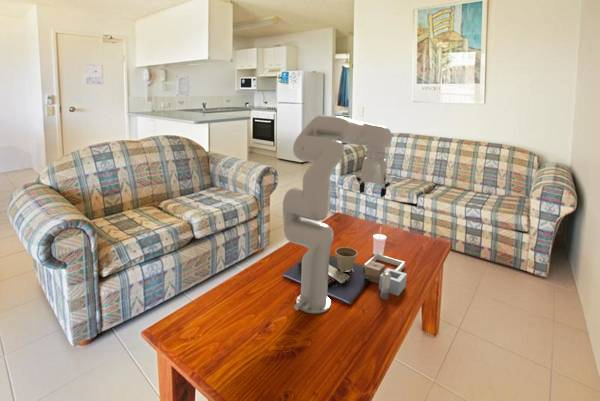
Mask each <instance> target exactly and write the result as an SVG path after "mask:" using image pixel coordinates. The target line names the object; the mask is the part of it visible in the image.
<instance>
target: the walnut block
mask: <svg viewBox="0 0 600 401" xmlns="http://www.w3.org/2000/svg"><path fill="white" fill-rule="evenodd" d="M385 266H386V264H383V263H380V262H376V261H375V262H374V261H371V262H370V263H368V264H367V265H366V266H365V269H364V276H365V277H368V278H369V279H370V281H369V282H373V283H375V284H379V280H380V275H381V274H382V273H383V272H384V271H385V270H386V268H385Z"/></svg>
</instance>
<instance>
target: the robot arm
mask: <svg viewBox="0 0 600 401" xmlns="http://www.w3.org/2000/svg"><path fill="white" fill-rule="evenodd" d="M392 136H393V134H392V131H391V130H390V128H388V127H387V126H385V125H376V124H372V123H368V122H364V121H359V120H355V119H352V118H349V117H345V116H339V115H329V114H328V115H327V114H320V115H319V114H318V115H317V116H315V117H314V118H313V119H311V121H310V122H309V123H308V124H306V126H305V127H304V129H302V131H301V132H300V133H299V134H298V136H297V137H296V138H295V141H294V143H293V146H292V148H293V150H292V152H293V155H294V156H295V158H296V159H298V160H300V161H304V162H309V163H312V164H311V165H310V166H309V167H308V168H307V170H306V171H305V173H304V174H303V177H302V188H300V187H292V188H289V189H288V190H287V191H286V193H285V195H284V197H283V201H282V219H283V233H284V237H285V238H286V240H287V241H288V242H290V243H293V244H295V245H298V246H301V247H305V248H306V249H307V251H306V252H305V253H304V254H303V256H302V259H301V273H300V274H301V277H300V278H301V280H300V281H301V282H300V283H301V284H300V295H298V296H297V297H296V300H295V301H296V304H294V305H293V308H294V309H295V310H296V311H298V310H301V311H302V312H304V313H308V314H314V315H315V314H316V315H317V314H322V313H325V312H327V311H328V310H329V309H330V308H331V305H332V300H331V299H330V298H329V297H328V285H329V268H330V254H331V248H332V244H333V241H334V237H335V236H334V230H333V228H332V227H331V226H330V225H329V224H327V223H325V222H322V221H324V220H325V219H326V218H327V217H328V215H329V210H330V209H329V207H330V190H329V189H330V178H331V176H332V173H333V171H334V170H335V169H336V167H337V166H338V164H339V162H340V161H341V159H342V158H343V155H344V151H345V146H344V144H343V143H345V144H348V145H357V146H367V147H366V151H365V150H364V152H363V155H365V157H364V159H363V162H362V166H361V170H359V171H357V172H355V173H354V175H355V179H356V181H357V182H358V184H359V189H358V190H359V193H360V194H362V193H364V192H365V189H366V188H365V186H366V184H365V182H367V183H371V184H372V183H373V184H377V185H378V184H379V185H381V189H380V198H384V197H385V196H386V195H387V194H386V193H387V188H388V187H390V185H392V184H393V182H394V178H393V177H392V176H390V175H389V174H388V173H387V172H388V170H387V167H388V166H387V159H386V148H387V147H389V145H390V144H391V142H392V140H393V137H392ZM386 180H388V181H387V182H386Z"/></svg>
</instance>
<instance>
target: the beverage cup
mask: <svg viewBox="0 0 600 401" xmlns="http://www.w3.org/2000/svg"><path fill="white" fill-rule="evenodd" d="M372 239H373V243H372V244H373V249H372V254H373V256H374V255H376V254H379V255H383V256H384V251H385V245H386V240H387V236H386V235H384V234H382V226H380V227H379V233H376V234H373V235H372Z"/></svg>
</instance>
